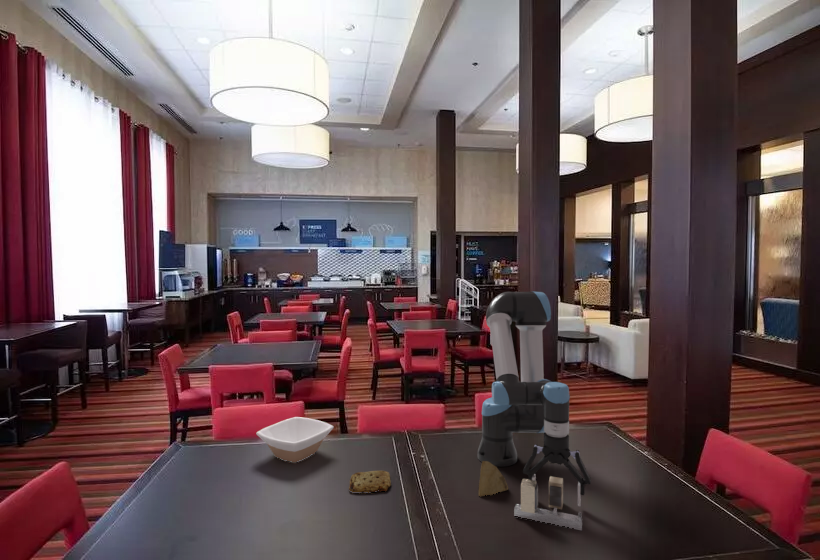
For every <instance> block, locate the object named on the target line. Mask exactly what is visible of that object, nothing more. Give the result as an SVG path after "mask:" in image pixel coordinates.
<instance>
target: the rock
mask: <svg viewBox="0 0 820 560" xmlns="http://www.w3.org/2000/svg"><path fill="white" fill-rule="evenodd" d="M480 465H481V466H480V470H479V472H480V473H479V474H480V475H479V482H478V491H477V494H478V497H479V496H480V498H481V497H485V495H486V496H487V495H490V496H494V495H497V494H498V492H500V493H502V492H505V491H508V490H509V486H508V483H507V480H506V478H505V476H504V475H503V474H502V472H501V471H500V470H499V468H498V466H494V465H493V464H491V463H490V462H488V461H482V462H481V464H480ZM496 493H497V494H496ZM493 494H494V495H493ZM487 497H488V496H487Z"/></svg>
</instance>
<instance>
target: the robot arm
mask: <svg viewBox="0 0 820 560" xmlns="http://www.w3.org/2000/svg"><path fill="white" fill-rule="evenodd" d="M551 309H552V308H551V303H550V300H549V297H548V295H547V294H546V293H544V292H543V291H532V290H531V291H503V292H502V293H499V294H497V296H495V297H494V298H492V300H491V302H490V303H489V305H488V307H487V309H486V312H485V321H486V325H487V327H488V328H489V332H490V341H491V346H492V354H493V355H492V356H493V363H494V371H495V378H496V381H493V382H492V384H491V397H488V398H486V399H485V400H484V401H483V402H482V407H481V415H482V416H481V440H480V443H479V445H478V449H477V460H478V461H480V463H482V461H488V462H490V463H491V464H493V465H494V466H496V467H497V468H498V467H502V468H503V467H509V466H513V465H515V464H516V463H517V462H518V451H517V449H516V446H515V444H514V439H513V437H514V435H513V433H515V434H516V433H517V434H518V433H520V434H521V433H525V434H531V433H532V434H542V433H543V446H539V445H538V443H537V444H534V446H533V449H532V453H531V455H530V456H529V459H528V460H527V461H526V463H525V465H524V467H523V469H522V474H523V475H527V476H528V479H529V480H534V481H536V482H537V480H536V479H537V477H536V473H537V472H538V471H539V470H541V468H542V467H543V466H545V465H546V464H547V463H548V462H549V463H550V464H557V465H560V466H561V465H564V466H565V467H566V468H567V469H568V470H569V472H570V473H571V474H572V476H573V477H574V478H575V479H576V480H577V507H581V501H582V500H581V498H582V497H581V496H585V493H586V489H585V485H591V484H592V478H591V477H590V474H589V472H588V470H587V467H585V464H584V462H583V459H582V458H581V454H580V453H581V451H580V450H579V449H576V450H570V436H569V434H570V398H571V395H570V387H569V386H568V385H567V384H566V383H563V382H559V381H551V380H550V379H547V378H544V376H545V374H544V342H543V341H544V340H543V339H544V338H543V330H544V329H545V328H546V327H547V323H548V322H550V321H551V318H552V317H551V316H552V310H551ZM512 322H515V327H516V328H517V329H518V330H519V348H520V350H519V352H520V357H519V358H520V376H519V373H518V365H517V359H516V354H515V353H516V352H515V348H514V342H513V336H512V330H511V325H512ZM519 379H520V380H519ZM540 452H542V454H543V455H544V456H543V457H542V458H541V459H540V460H539V461H538V462H537V463H536V464H535V465H534V466H533V467H532V468H531V466H532V464H533V462H534V460H535V459H536V457H537V454H540ZM571 457H573V459H574V460H575V462H576V465H577V466H578V468H579V470H580V472H581V473H580V472H579V471H578V469H577V468H576V467H575V466H574V464H573V463H572V461H571V460H570V458H571ZM530 468H531V469H530ZM581 474H582V475H581Z"/></svg>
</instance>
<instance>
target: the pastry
mask: <svg viewBox="0 0 820 560" xmlns="http://www.w3.org/2000/svg"><path fill="white" fill-rule="evenodd" d="M391 483H392V482H391V475H390V472H389V471H386V470H370V471H359V472H355V473H353V474H351V476H350V479H349V487H348V491H349V490H350V491H352V492H368V493H369V492H375V491H378V490H379V491H378V492H381V491H385V492H387V491H388V489H389V488H390V487H391V486H392V484H391ZM350 491H349V492H350Z"/></svg>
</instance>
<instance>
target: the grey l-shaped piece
mask: <svg viewBox="0 0 820 560" xmlns="http://www.w3.org/2000/svg"><path fill="white" fill-rule="evenodd" d="M538 506H539V485H538V484H537V480H536V481H534V480H529V478H522V480H521V483H520V504H519V503H515V506H514V508H513V509H514V510H513V512H514V513H513V516H518V517H521V518H520V519H522V518H527V519H532V520H535V521H534V522H537V521H540V522H539V523H542V522H545V523H544V524H547V523H551V524H550V525H552V524H555V525H554V526H557V525H559V526H558V527H562V526H565V527H564V528H567V527H569V528H568V529H572V528H574V529H573V530H578V531H583V515H582V512H581V511H578V514H577V515H576V514H571V513H566V512H561V511H558V509H557V508H556V507H554V508H553V510H549V509H546V508H542V507H541V508H539V507H538ZM518 517H517V518H518ZM527 519H526V520H527ZM532 520H531V521H532Z"/></svg>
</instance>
